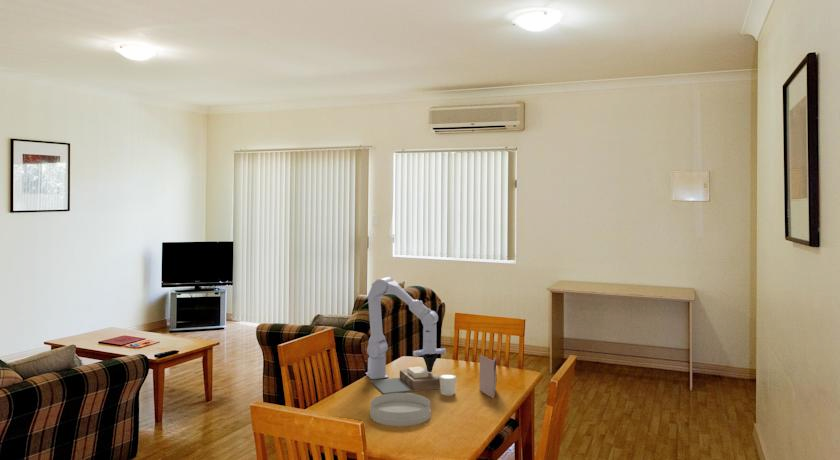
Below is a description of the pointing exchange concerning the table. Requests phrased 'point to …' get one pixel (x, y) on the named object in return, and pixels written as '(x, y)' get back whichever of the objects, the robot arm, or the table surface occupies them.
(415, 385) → the platform
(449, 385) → the white cup
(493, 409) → the table surface
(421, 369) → the tile
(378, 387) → the mat
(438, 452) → the table surface
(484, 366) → the greeting card
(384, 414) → the dish
